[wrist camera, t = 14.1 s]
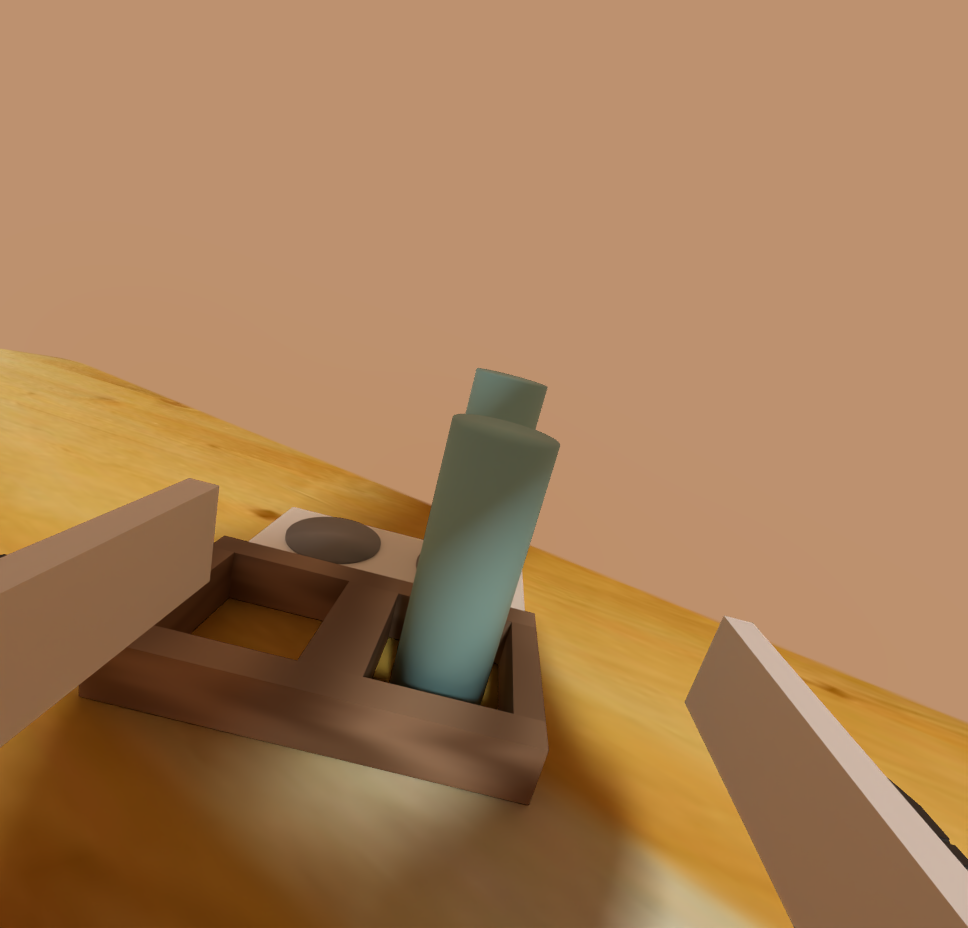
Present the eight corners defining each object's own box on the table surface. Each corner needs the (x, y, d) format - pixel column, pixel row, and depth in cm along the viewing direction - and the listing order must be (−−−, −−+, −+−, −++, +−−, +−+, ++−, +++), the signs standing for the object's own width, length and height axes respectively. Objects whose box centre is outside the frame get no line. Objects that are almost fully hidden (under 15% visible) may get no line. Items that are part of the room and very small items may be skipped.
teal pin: (496, 697, 20) (576, 444, 17) (442, 754, 17) (529, 453, 14) (428, 649, 22) (489, 413, 19) (368, 692, 19) (430, 414, 16)
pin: (504, 573, 29) (558, 388, 26) (469, 595, 26) (527, 385, 22) (454, 546, 31) (499, 371, 28) (415, 563, 27) (462, 365, 24)
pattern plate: (517, 577, 31) (522, 562, 31) (521, 654, 24) (527, 634, 23) (290, 520, 31) (293, 503, 31) (219, 579, 23) (222, 558, 23)
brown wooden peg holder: (521, 654, 24) (534, 613, 23) (528, 805, 16) (548, 750, 15) (219, 579, 23) (224, 535, 23) (78, 696, 16) (79, 635, 15)
